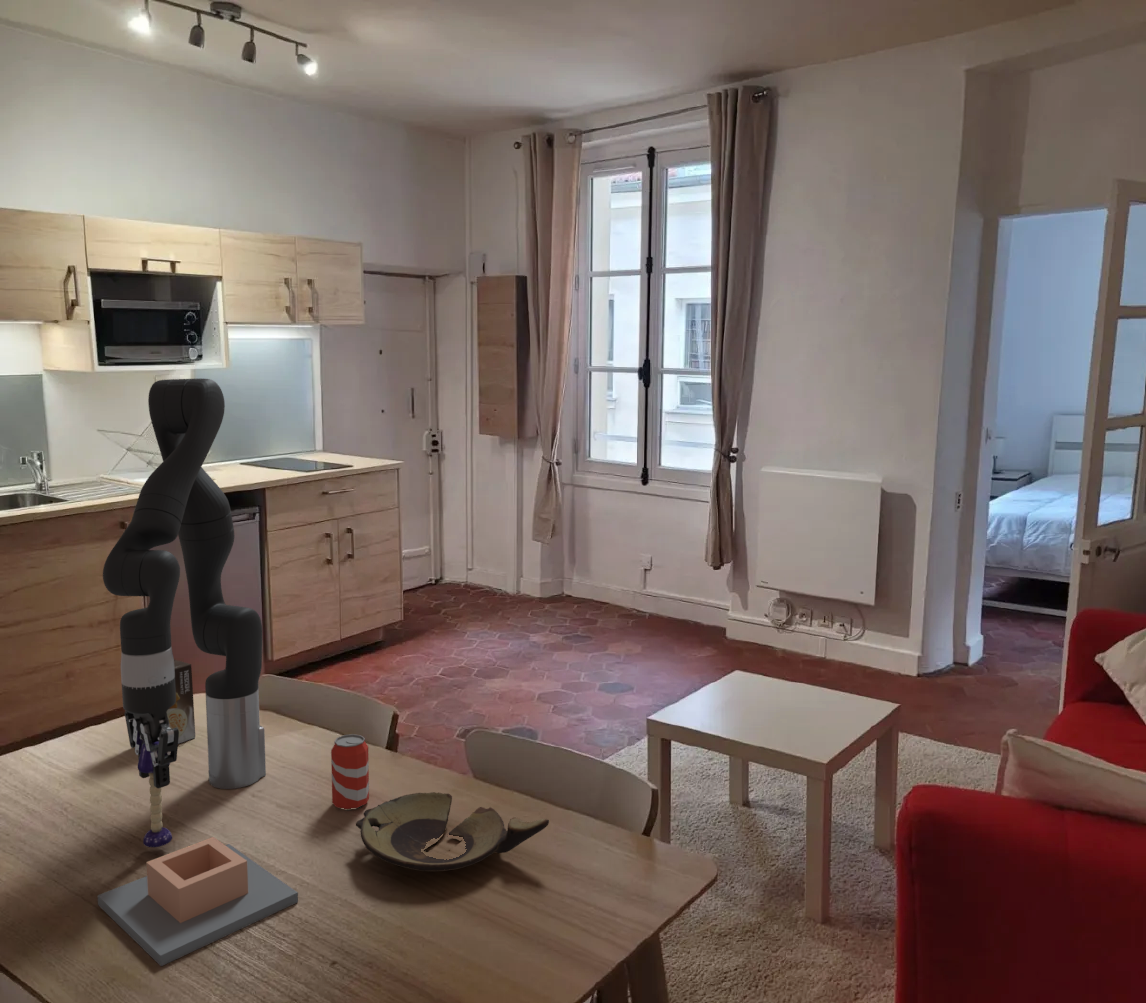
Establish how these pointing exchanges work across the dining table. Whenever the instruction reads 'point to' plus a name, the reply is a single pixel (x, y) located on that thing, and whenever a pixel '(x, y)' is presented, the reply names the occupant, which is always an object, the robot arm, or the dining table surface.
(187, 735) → the coffee box
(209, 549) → the robot arm
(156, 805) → the toy lamp
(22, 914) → the dining table surface
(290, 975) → the dining table surface
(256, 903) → the socket block
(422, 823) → the broken brown handled bowl
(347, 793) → the beverage can
